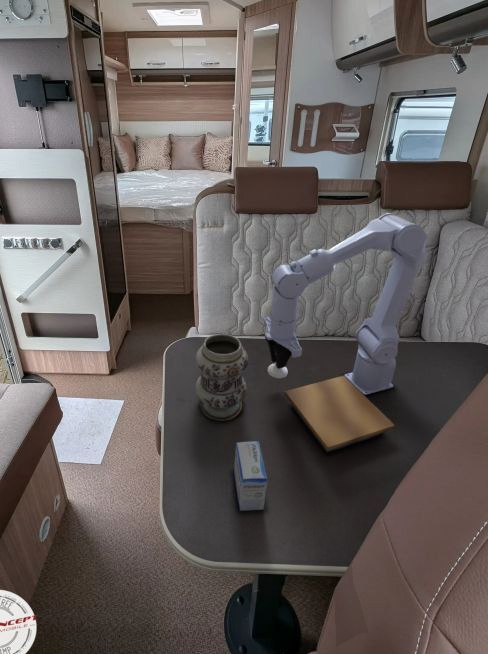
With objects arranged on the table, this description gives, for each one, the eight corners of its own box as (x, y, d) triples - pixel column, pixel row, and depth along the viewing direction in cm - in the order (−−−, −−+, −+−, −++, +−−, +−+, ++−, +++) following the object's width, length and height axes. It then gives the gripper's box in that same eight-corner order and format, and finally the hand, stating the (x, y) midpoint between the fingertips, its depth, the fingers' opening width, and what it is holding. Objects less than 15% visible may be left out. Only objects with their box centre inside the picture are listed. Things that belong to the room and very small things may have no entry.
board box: (340, 387, 94) (343, 375, 92) (390, 438, 79) (394, 425, 77) (283, 403, 88) (284, 391, 86) (325, 461, 74) (328, 447, 72)
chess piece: (287, 379, 88) (291, 345, 83) (266, 376, 89) (270, 343, 84) (287, 366, 92) (291, 333, 88) (268, 364, 93) (271, 331, 88)
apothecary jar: (235, 384, 94) (238, 325, 86) (253, 418, 84) (258, 355, 76) (190, 393, 91) (189, 333, 83) (203, 429, 81) (203, 365, 73)
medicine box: (233, 472, 71) (235, 441, 68) (255, 470, 72) (258, 439, 68) (239, 512, 64) (242, 480, 61) (264, 510, 65) (268, 478, 61)
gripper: (254, 304, 88) (251, 350, 94) (284, 336, 76) (278, 386, 82) (279, 300, 90) (275, 345, 96) (313, 330, 78) (305, 379, 84)
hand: (278, 363), depth 89 cm, fingers closed on chess piece
